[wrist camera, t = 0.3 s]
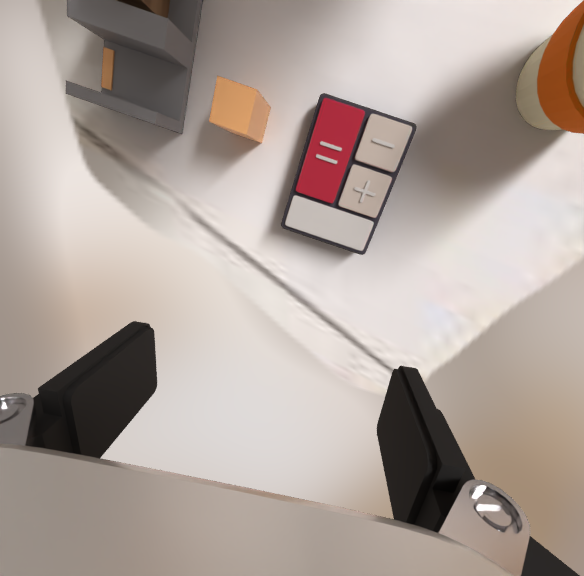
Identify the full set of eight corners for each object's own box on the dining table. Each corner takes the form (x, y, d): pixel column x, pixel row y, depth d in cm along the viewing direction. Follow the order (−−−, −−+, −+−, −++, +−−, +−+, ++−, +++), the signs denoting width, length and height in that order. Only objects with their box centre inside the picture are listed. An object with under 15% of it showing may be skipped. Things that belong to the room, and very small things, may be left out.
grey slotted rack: (117, -62, 30) (69, -117, 25) (207, -30, 30) (179, -78, 25) (106, 107, 36) (65, 94, 30) (182, 133, 36) (155, 125, 30)
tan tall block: (238, 96, 34) (217, 75, 27) (270, 107, 34) (256, 89, 27) (231, 132, 35) (209, 121, 29) (261, 143, 35) (246, 134, 29)
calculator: (420, 122, 30) (365, 257, 35) (409, 131, 34) (360, 250, 39) (320, 88, 30) (278, 228, 35) (321, 101, 34) (283, 224, 39)
